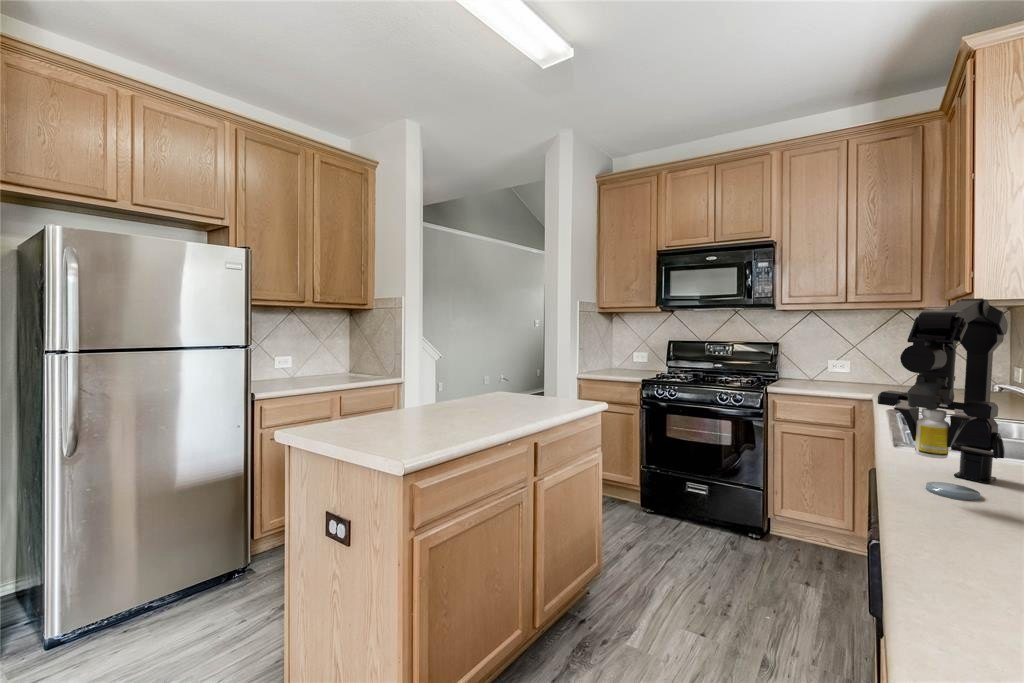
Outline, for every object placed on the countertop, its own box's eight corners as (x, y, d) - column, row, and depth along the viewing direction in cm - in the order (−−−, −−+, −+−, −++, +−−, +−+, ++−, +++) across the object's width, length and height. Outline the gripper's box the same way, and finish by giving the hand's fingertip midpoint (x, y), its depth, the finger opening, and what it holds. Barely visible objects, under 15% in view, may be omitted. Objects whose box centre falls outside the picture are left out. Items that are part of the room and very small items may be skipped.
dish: (933, 483, 116) (933, 478, 116) (985, 495, 109) (985, 490, 109) (919, 490, 111) (919, 485, 111) (972, 503, 104) (973, 498, 104)
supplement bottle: (954, 460, 102) (957, 413, 102) (924, 458, 103) (927, 411, 103) (937, 453, 107) (940, 408, 107) (909, 451, 108) (911, 407, 108)
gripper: (869, 368, 108) (865, 439, 108) (984, 378, 92) (979, 460, 93) (889, 365, 114) (885, 432, 115) (1001, 375, 98) (995, 452, 99)
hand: (931, 443), depth 105 cm, fingers closed on supplement bottle, 5 cm apart
